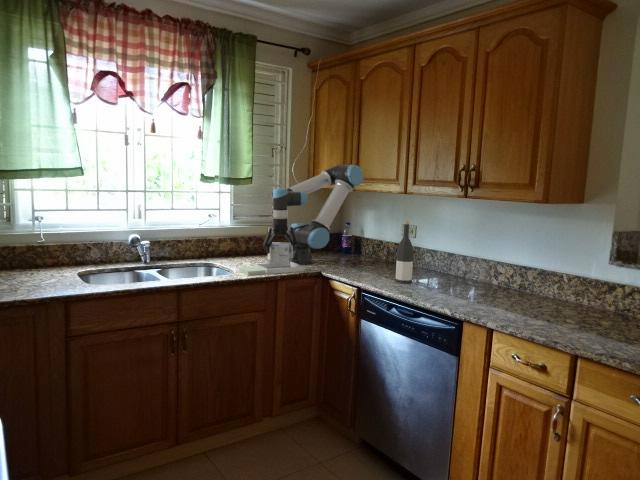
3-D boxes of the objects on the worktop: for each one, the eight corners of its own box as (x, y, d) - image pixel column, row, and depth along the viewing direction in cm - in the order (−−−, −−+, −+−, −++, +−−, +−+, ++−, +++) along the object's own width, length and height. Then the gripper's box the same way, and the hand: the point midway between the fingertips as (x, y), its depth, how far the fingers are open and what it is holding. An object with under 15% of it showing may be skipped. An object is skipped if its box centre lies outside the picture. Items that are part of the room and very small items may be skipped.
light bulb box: (291, 262, 265) (291, 242, 263) (289, 264, 258) (289, 244, 256) (271, 261, 266) (271, 241, 264) (269, 263, 259) (269, 243, 258)
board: (254, 269, 260) (254, 266, 259) (264, 274, 249) (264, 270, 249) (238, 271, 255) (238, 267, 255) (248, 275, 245) (248, 271, 244)
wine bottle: (393, 282, 239) (396, 221, 235) (397, 279, 247) (400, 220, 243) (410, 284, 236) (413, 222, 233) (413, 281, 244) (416, 221, 240)
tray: (290, 265, 274) (290, 261, 274) (304, 271, 261) (304, 266, 261) (253, 268, 263) (254, 264, 263) (266, 274, 249) (266, 269, 249)
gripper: (297, 216, 268) (297, 255, 271) (256, 218, 255) (256, 259, 258) (303, 217, 261) (303, 257, 265) (262, 219, 249) (262, 261, 252)
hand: (280, 258), depth 262 cm, fingers closed on light bulb box, 12 cm apart
